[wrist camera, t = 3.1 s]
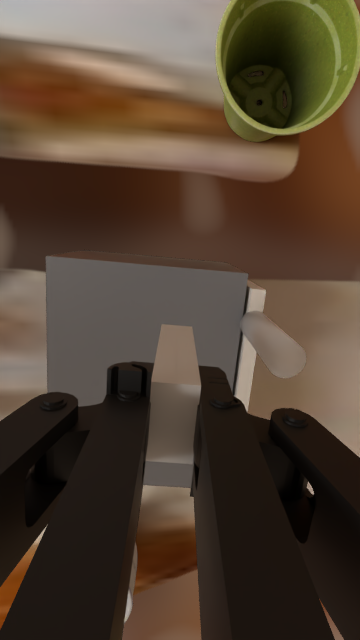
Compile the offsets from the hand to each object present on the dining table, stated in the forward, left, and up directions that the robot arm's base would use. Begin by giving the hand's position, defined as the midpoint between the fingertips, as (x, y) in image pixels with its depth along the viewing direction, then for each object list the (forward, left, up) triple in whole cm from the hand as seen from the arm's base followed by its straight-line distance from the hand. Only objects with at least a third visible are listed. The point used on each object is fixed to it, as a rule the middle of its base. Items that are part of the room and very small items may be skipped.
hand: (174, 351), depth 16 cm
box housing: (-2, -6, -18) cm, 18 cm away
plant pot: (+6, +17, -18) cm, 26 cm away
